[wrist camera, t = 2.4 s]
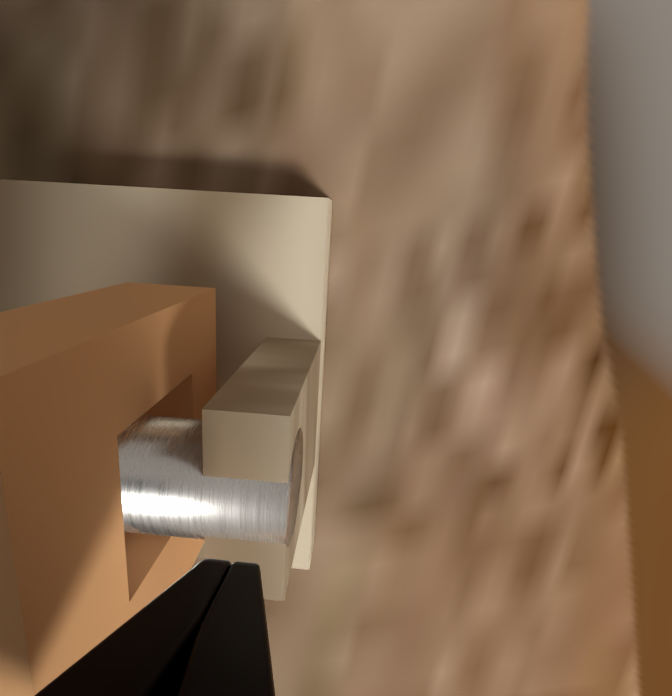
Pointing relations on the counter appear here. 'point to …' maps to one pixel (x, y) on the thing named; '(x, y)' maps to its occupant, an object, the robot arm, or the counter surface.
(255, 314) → the stand
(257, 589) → the robot arm
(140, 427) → the pipe
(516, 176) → the counter surface
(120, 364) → the slotted orange block
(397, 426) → the counter surface
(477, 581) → the counter surface
